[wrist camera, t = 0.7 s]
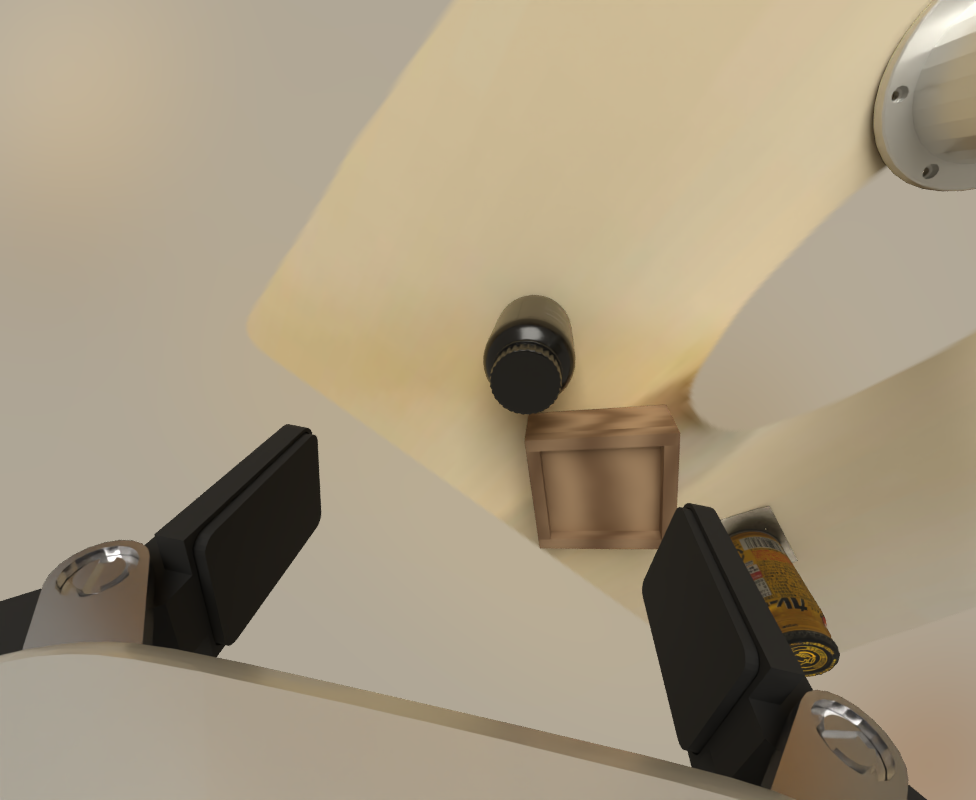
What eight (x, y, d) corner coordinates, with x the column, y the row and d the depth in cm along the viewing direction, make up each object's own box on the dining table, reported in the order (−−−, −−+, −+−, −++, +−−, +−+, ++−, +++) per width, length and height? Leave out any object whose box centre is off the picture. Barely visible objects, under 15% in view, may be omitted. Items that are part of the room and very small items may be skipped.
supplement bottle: (528, 378, 40) (515, 445, 29) (482, 324, 38) (451, 374, 27) (587, 337, 37) (597, 393, 26) (541, 276, 35) (532, 311, 25)
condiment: (726, 578, 47) (775, 690, 36) (696, 527, 44) (738, 631, 34) (796, 559, 44) (871, 674, 33) (767, 503, 41) (838, 608, 31)
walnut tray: (666, 404, 38) (680, 433, 34) (663, 512, 44) (674, 549, 39) (528, 413, 41) (524, 440, 37) (542, 513, 47) (539, 548, 42)
